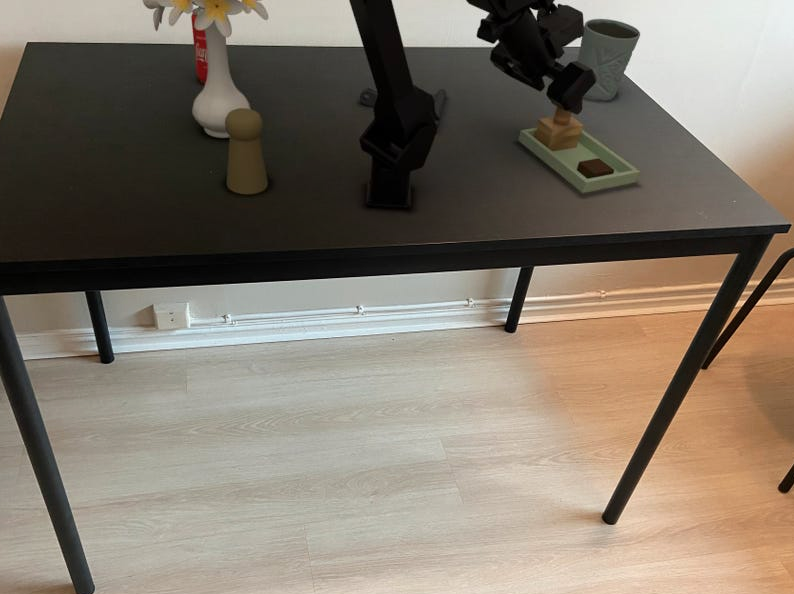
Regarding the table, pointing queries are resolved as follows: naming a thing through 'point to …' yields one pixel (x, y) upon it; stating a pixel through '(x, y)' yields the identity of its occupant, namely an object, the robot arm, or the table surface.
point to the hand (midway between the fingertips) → (560, 100)
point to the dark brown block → (594, 168)
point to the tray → (585, 150)
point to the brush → (559, 131)
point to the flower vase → (212, 56)
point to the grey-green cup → (607, 54)
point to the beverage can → (200, 49)
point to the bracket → (438, 97)
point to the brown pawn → (245, 152)
